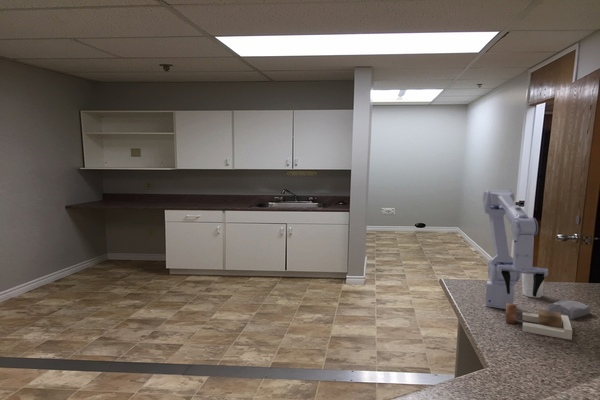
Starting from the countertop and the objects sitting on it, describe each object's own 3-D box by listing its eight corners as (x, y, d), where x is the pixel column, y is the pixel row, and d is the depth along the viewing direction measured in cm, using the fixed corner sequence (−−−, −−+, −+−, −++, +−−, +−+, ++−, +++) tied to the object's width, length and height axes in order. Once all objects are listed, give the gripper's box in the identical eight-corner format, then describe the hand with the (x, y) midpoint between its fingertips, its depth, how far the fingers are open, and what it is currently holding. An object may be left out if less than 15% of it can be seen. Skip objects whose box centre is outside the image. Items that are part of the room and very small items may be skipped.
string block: (505, 323, 133) (506, 306, 132) (505, 318, 137) (506, 301, 137) (560, 333, 126) (561, 314, 125) (559, 327, 130) (560, 309, 129)
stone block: (544, 316, 144) (574, 320, 136) (543, 302, 145) (572, 306, 136) (564, 312, 150) (593, 315, 141) (562, 298, 150) (591, 301, 141)
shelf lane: (522, 331, 127) (522, 322, 127) (522, 317, 138) (522, 309, 138) (571, 339, 121) (572, 330, 121) (567, 324, 132) (567, 315, 132)
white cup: (522, 290, 167) (523, 267, 166) (544, 294, 163) (545, 270, 162) (519, 295, 161) (520, 271, 160) (542, 299, 156) (543, 274, 155)
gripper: (499, 255, 131) (498, 295, 133) (551, 258, 126) (548, 300, 127) (497, 250, 138) (496, 289, 139) (546, 254, 133) (544, 294, 134)
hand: (521, 294), depth 134 cm, fingers open, 7 cm apart
